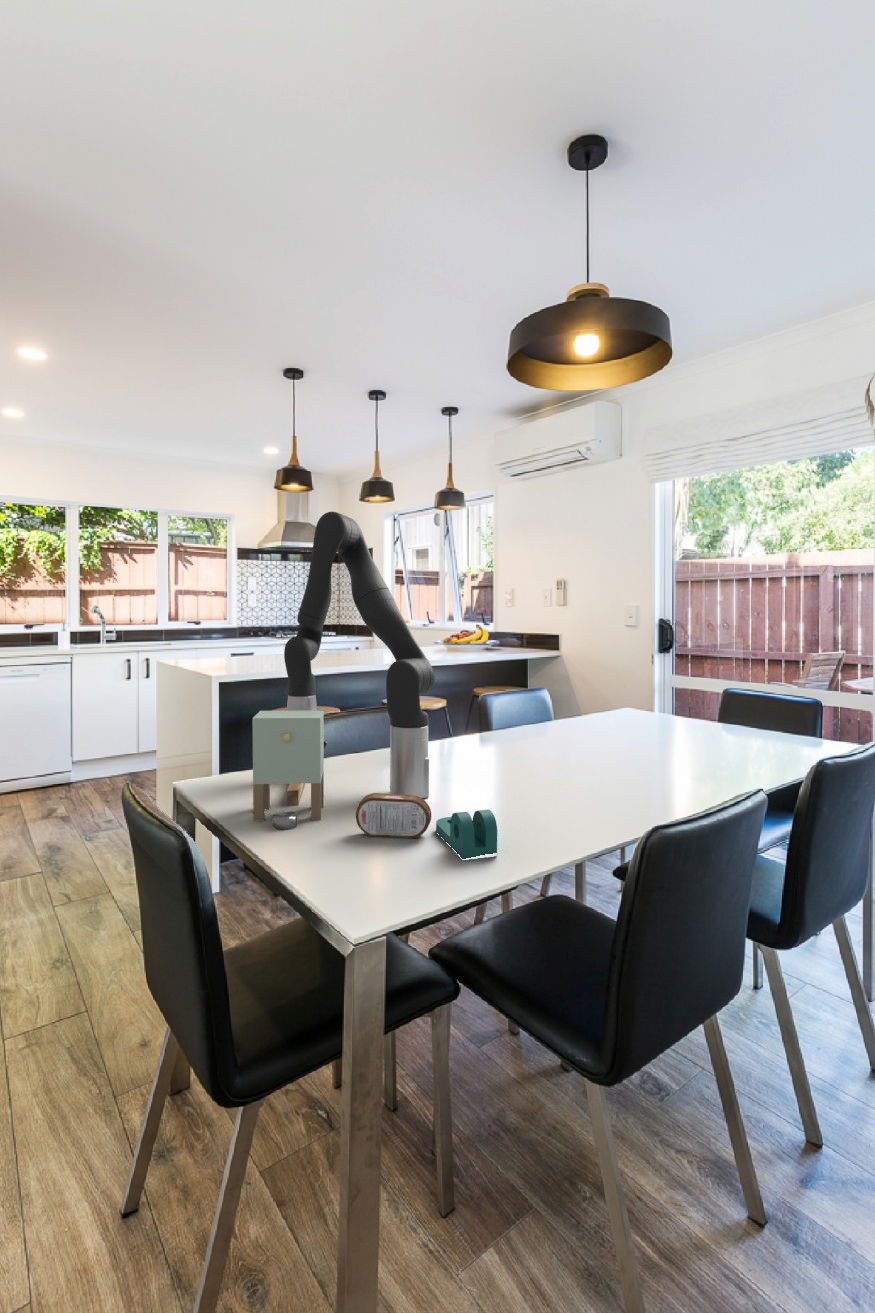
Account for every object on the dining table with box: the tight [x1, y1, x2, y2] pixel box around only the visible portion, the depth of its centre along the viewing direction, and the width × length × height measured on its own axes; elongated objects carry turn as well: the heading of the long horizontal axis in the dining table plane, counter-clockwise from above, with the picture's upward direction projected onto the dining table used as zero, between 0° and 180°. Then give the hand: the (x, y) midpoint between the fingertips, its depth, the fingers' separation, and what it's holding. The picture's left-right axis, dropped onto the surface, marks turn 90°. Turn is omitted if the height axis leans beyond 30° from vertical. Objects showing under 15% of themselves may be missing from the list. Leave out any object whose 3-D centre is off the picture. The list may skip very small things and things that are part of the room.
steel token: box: [272, 811, 298, 831], centre depth 132 cm, size 5×5×2 cm
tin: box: [355, 792, 432, 839], centre depth 127 cm, size 15×3×8 cm, turn 84°
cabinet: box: [252, 709, 325, 822], centre depth 139 cm, size 14×11×22 cm
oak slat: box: [286, 783, 307, 806], centre depth 158 cm, size 2×24×4 cm, turn 7°
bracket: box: [435, 809, 498, 859], centre depth 124 cm, size 18×7×8 cm, turn 18°
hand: (302, 777), depth 167 cm, fingers closed, pressing on oak slat
